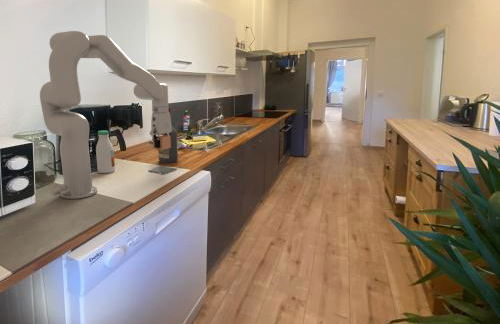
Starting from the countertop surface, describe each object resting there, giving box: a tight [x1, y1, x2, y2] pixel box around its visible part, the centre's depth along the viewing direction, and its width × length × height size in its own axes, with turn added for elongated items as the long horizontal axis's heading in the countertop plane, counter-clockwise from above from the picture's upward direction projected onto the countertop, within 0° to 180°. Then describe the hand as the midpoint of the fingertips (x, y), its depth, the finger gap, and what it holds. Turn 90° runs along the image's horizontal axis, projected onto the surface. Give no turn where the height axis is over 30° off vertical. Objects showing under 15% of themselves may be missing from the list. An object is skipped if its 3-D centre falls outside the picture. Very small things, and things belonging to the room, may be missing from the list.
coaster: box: [147, 165, 177, 175], centre depth 155 cm, size 10×10×1 cm
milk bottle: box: [95, 130, 116, 174], centre depth 148 cm, size 8×8×20 cm
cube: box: [152, 135, 171, 150], centre depth 152 cm, size 6×6×6 cm
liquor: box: [157, 107, 179, 164], centre depth 171 cm, size 9×9×30 cm
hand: (162, 146), depth 152 cm, fingers closed on cube, 6 cm apart
